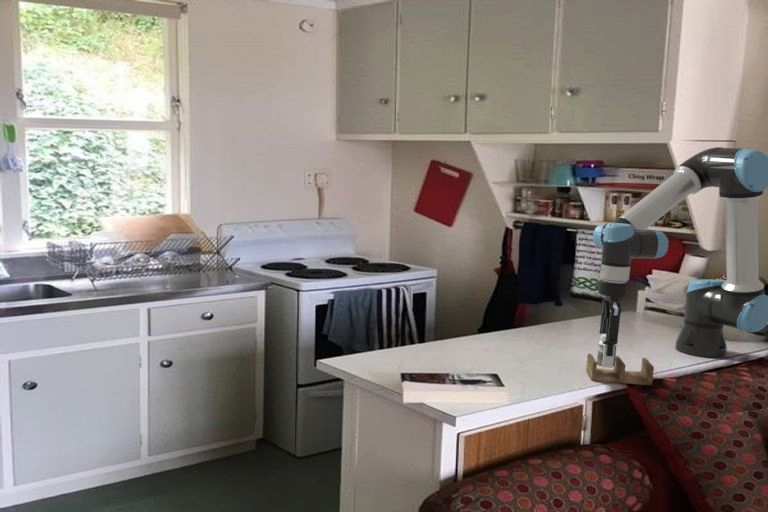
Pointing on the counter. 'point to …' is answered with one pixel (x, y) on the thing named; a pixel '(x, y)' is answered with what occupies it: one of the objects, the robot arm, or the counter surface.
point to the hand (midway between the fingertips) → (605, 364)
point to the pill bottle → (601, 350)
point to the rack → (620, 372)
